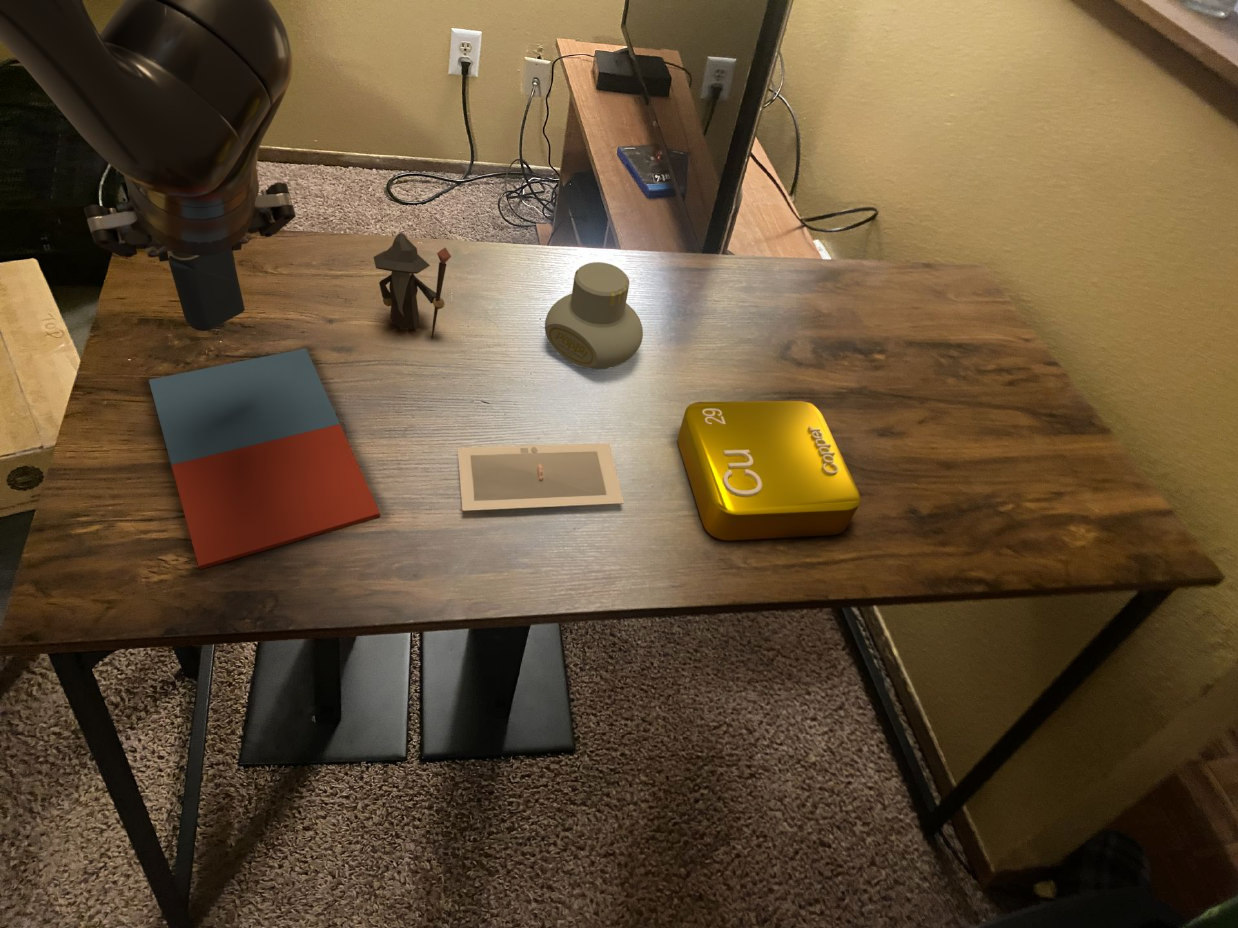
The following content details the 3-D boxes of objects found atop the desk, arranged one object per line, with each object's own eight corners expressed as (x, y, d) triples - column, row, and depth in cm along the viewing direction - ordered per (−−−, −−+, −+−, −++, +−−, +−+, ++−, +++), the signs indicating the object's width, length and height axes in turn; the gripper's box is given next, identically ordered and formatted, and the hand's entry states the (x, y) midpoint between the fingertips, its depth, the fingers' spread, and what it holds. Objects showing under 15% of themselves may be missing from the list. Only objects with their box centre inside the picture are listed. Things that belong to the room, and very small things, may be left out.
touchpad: (622, 510, 79) (625, 495, 78) (462, 518, 76) (462, 502, 74) (607, 450, 85) (610, 435, 83) (457, 455, 81) (457, 439, 80)
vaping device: (252, 309, 74) (225, 184, 65) (201, 337, 70) (166, 209, 62) (231, 297, 74) (202, 172, 66) (180, 323, 71) (142, 195, 62)
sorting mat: (199, 569, 68) (198, 566, 68) (149, 383, 81) (148, 379, 81) (380, 516, 75) (379, 513, 74) (306, 351, 88) (306, 347, 87)
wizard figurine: (372, 337, 91) (364, 242, 82) (383, 306, 95) (376, 212, 86) (449, 347, 92) (449, 253, 83) (456, 316, 95) (457, 223, 87)
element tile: (852, 536, 82) (870, 504, 78) (707, 543, 78) (719, 511, 75) (803, 427, 91) (817, 395, 88) (672, 430, 88) (681, 396, 85)
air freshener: (649, 356, 96) (666, 284, 89) (607, 390, 91) (621, 317, 83) (575, 313, 99) (585, 240, 92) (530, 343, 94) (537, 269, 87)
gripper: (291, 113, 56) (274, 187, 72) (45, 135, 50) (84, 210, 65) (322, 225, 57) (299, 274, 72) (84, 259, 51) (113, 304, 66)
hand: (196, 243), depth 69 cm, fingers closed on vaping device, 5 cm apart
